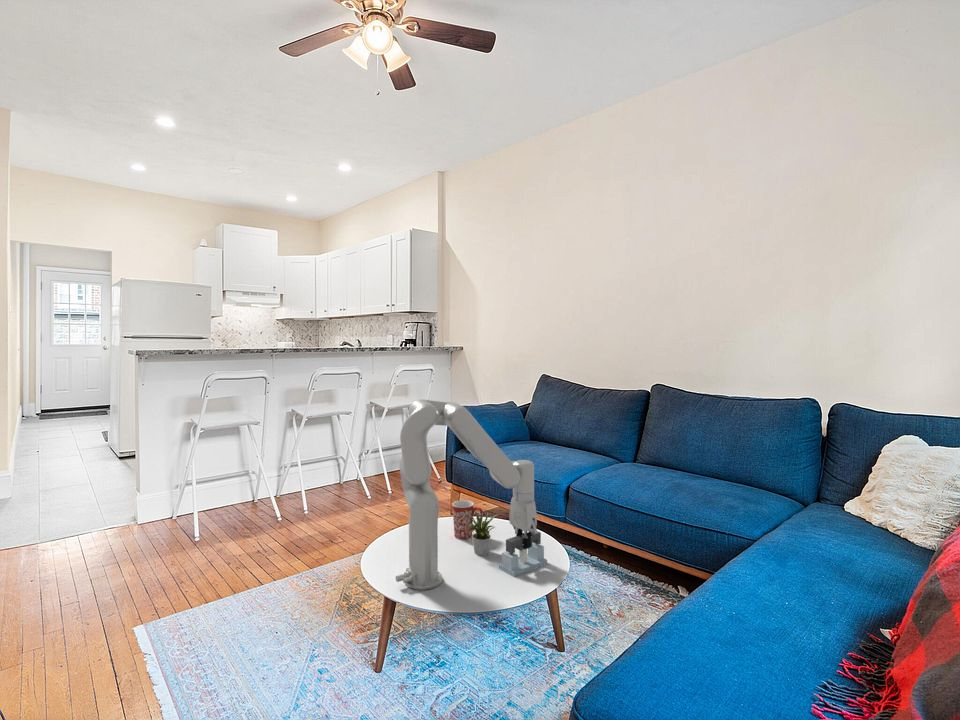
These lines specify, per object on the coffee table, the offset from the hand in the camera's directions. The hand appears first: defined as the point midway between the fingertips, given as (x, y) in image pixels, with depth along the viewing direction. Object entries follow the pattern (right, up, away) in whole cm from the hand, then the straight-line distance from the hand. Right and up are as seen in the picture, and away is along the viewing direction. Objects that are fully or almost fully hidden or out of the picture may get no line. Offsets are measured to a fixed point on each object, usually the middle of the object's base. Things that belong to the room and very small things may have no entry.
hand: (523, 546), depth 178 cm
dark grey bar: (0, 0, 0) cm, 0 cm away
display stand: (0, -7, 0) cm, 7 cm away
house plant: (-16, -7, +12) cm, 21 cm away
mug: (-21, -6, +27) cm, 35 cm away
